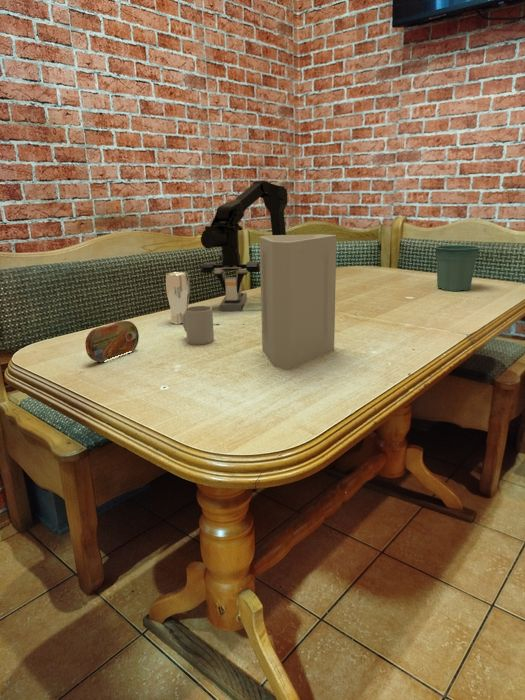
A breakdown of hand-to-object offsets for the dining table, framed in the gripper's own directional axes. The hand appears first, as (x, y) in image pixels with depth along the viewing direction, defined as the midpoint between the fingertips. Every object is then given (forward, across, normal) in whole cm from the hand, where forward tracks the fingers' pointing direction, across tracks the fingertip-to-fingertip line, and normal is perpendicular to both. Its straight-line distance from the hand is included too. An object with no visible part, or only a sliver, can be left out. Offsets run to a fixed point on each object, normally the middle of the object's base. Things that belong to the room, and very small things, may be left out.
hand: (232, 293), depth 168 cm
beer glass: (+6, +15, +15) cm, 22 cm away
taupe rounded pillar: (+6, -19, +47) cm, 51 cm away
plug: (+2, 0, 0) cm, 2 cm away
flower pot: (+6, -82, -34) cm, 89 cm away
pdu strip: (+6, 0, -5) cm, 8 cm away
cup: (+6, +6, +35) cm, 36 cm away
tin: (+6, +24, +49) cm, 55 cm away
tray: (+6, -8, 0) cm, 10 cm away
